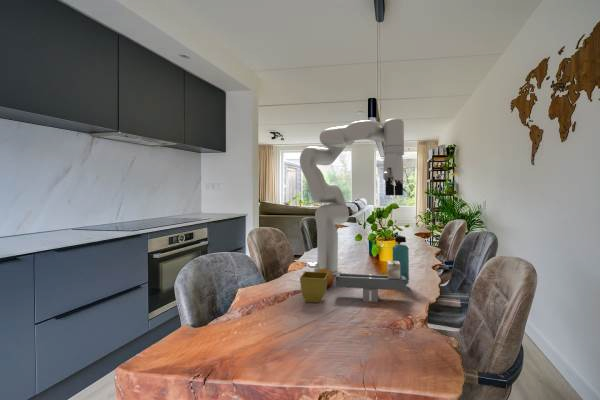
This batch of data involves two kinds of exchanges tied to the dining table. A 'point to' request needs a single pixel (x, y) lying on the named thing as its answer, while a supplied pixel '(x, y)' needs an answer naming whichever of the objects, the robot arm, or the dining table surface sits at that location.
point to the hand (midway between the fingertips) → (394, 195)
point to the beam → (370, 284)
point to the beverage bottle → (402, 257)
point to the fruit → (330, 276)
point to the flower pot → (313, 286)
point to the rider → (393, 269)
